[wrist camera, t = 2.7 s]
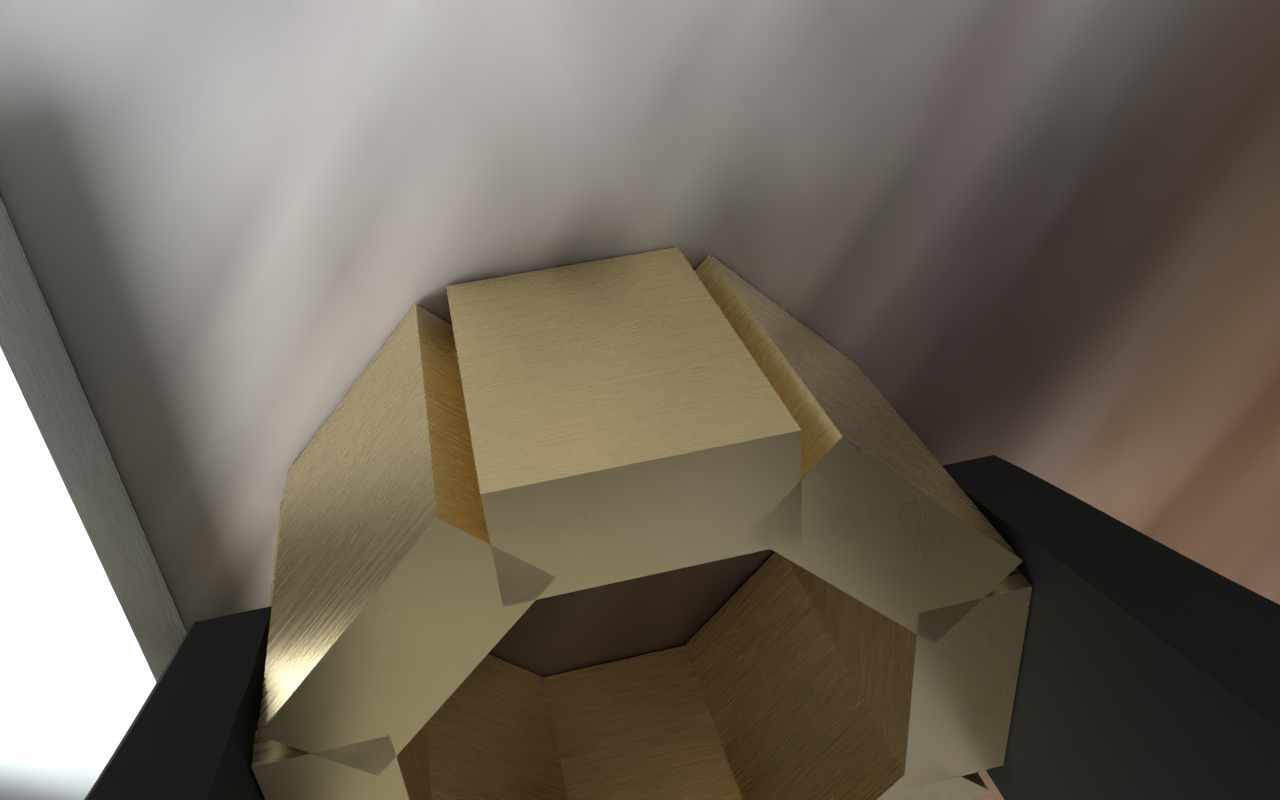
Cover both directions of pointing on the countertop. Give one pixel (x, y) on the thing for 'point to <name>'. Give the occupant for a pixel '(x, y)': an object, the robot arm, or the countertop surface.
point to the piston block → (65, 565)
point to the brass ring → (630, 561)
